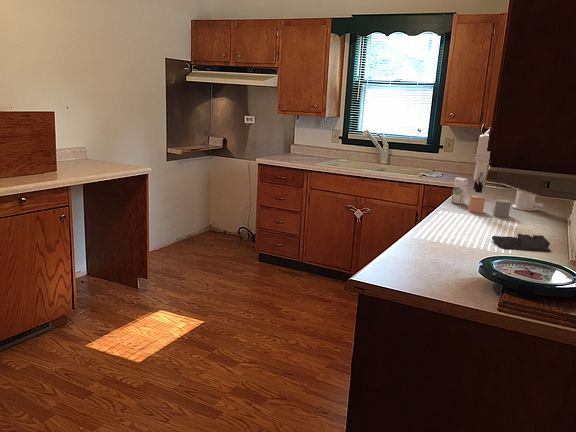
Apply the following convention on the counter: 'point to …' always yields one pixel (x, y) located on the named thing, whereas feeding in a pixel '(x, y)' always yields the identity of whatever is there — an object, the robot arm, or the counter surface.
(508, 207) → the gray block
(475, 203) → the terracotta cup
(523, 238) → the dark slate chunk
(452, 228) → the counter surface
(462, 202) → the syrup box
